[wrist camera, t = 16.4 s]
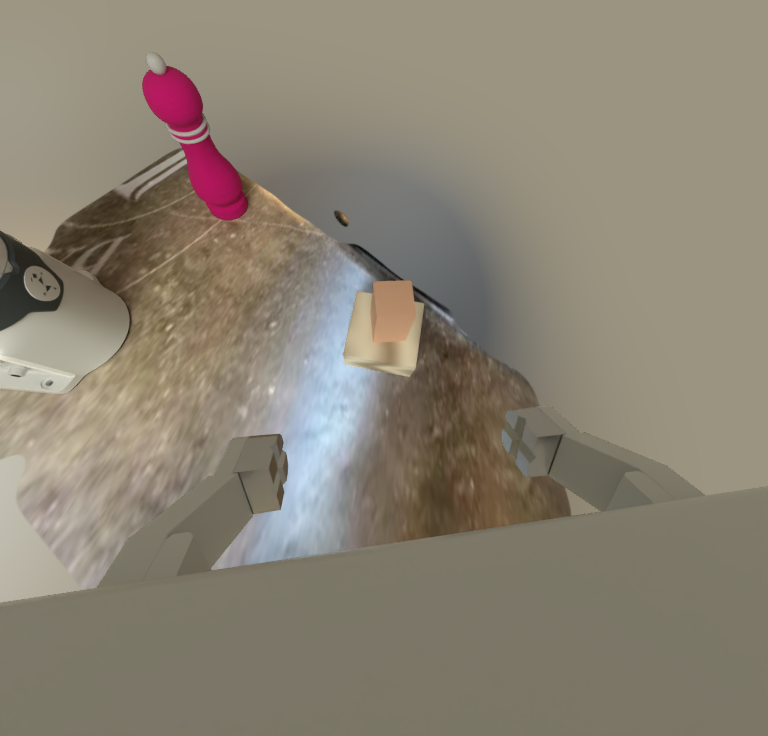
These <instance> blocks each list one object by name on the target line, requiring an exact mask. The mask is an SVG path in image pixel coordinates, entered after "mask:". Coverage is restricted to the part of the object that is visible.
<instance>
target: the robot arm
mask: <svg viewBox="0 0 768 736" xmlns="http://www.w3.org/2000/svg"><path fill="white" fill-rule="evenodd" d="M129 320H130V319H129V312H128V309H127V307H126V305H125V303H124V301H123V300H122V299H121V298H120V297H119V296H118V295H117V294H115V293H114V292H112V291H110V290H108V289H107V288H105V287H103V286H102V285H101V284H100V282H99V281H98V279H97V278H96V277H95V276H94V275H93V274H92V273H90V272H88V271H86V270H77V271H76V270H75V269H73V268H71V267H69V266H67V265H66V264H64V263H62V262H60V261H58V260H57V259H55V258H53V257H51V256H49V255H47V254H46V253H44V252H42V251H40V250H38V249H35V248H32V247H26V246H25V245H23V244H22V242H20V241H18V240H17V239H15V238H14V237H12V236H10V235H8V234H5V233H3V232H1V231H0V389H7V390H18V391H28V392H39V393H50V394H65V393H67V392H69V391H70V390H72V389H73V388H74V387H75V386H76V385H77V384H78V383H79V381H80V380H81V379H82V378H83V377H84V376H85V375H86V374H88V373H89V372H91V371H92V370H94V369H96V368H98V367H99V366H101V365H102V364H104V363H105V362H106V361H108V360H109V359H110V358H111V357H112V356H113V355H114V354H115V353H116V352H117V351H118V349H119V348H120V347H121V345H122V343H123V342H124V340H125V338H126V335H127V333H128V329H129ZM52 383H53V384H52ZM51 384H52V385H51ZM505 419H506V421H507V422H508V424H507V425H506V426H505V427H504V428H503V432H502V440H503V444H504V447H505V449H506V450H507V452H508V453H509V454H510V455H512V456H514V457H516V462H515V463H516V465H517V466H518V467H519V469H520V470H521V471H522V473H523V474H524V476H525V477H533V476H543V475H549V477H551V478H552V479H554V480H555V481H557V482H558V483H560V484H561V485H563V486H564V487H565V488H567V489H568V490H570V491H571V492H573V493H574V494H576V495H577V496H579V497H580V498H582V499H583V500H585V501H586V502H588V503H589V504H591V505H592V506H594V507H595V508H597V509H598V510H599V511H601V512H595V513H588V514H581V515H575V516H568V517H561V518H555V519H548V520H542V521H535V522H529V523H522V524H515V525H509V526H502V527H496V528H489V529H483V530H476V531H469V532H463V533H456V534H450V535H443V536H436V537H430V538H423V539H416V540H410V541H403V542H397V543H390V544H383V545H377V546H370V547H364V548H357V549H350V550H344V551H337V552H331V553H324V554H317V555H311V556H304V557H298V558H291V559H284V560H278V561H271V562H265V563H258V564H252V565H245V566H238V567H232V568H225V569H219V570H211V567H212V566H213V565H214V564H215V562H216V561H217V560H218V559H219V557H220V556H221V555H222V554H223V552H224V551H225V550H226V549H227V547H228V546H229V545H230V544H231V542H232V541H233V540H234V539H235V538H236V536H237V535H238V534H239V533H240V531H241V530H242V529H243V528H244V526H245V525H246V524H247V523H248V521H249V520H250V519H251V518H252V516H253V514H258V513H264V512H270V511H276V510H281V505H282V500H283V495H284V489H283V484H284V483H285V482H286V480H287V474H288V461H287V455H286V452H284V451H283V450H282V448H283V439H282V435H280V434H271V435H259V436H249V437H238V438H233V439H232V440H231V441H230V443H229V445H228V447H227V449H226V451H225V453H224V455H223V457H222V459H221V461H220V463H219V466H218V468H217V470H216V472H215V474H214V476H208V477H207V478H206V479H205V480H203V481H202V482H201V483H199V484H198V485H197V486H196V487H194V488H193V489H192V490H190V491H189V492H188V493H187V494H185V495H184V496H183V497H181V498H180V499H179V500H178V501H176V502H175V503H174V504H172V505H171V506H170V507H169V508H167V509H166V510H165V511H163V512H162V513H161V514H160V515H158V516H157V517H156V518H154V519H153V520H152V521H151V522H149V523H148V524H147V525H145V526H144V527H143V528H142V529H140V530H139V531H138V532H136V533H135V534H134V535H133V536H131V537H130V538H129V539H128V540H127V542H126V543H125V545H124V546H123V548H122V549H121V551H120V553H119V554H118V556H117V557H116V559H115V560H114V562H113V563H112V565H111V566H110V568H109V569H108V571H107V573H106V574H105V576H104V577H103V579H102V580H101V582H100V583H99V585H98V586H97V588H93V589H87V590H80V591H74V592H68V593H61V594H54V595H48V596H42V597H34V598H28V599H21V600H15V601H8V602H3V603H0V736H768V486H766V487H760V488H753V489H747V490H741V491H734V492H727V493H721V494H714V495H707V496H706V495H704V494H703V493H702V492H701V491H699V490H698V489H697V488H695V487H694V486H693V485H691V484H690V483H689V482H688V481H686V480H685V479H684V478H682V477H681V476H680V475H678V474H677V473H676V472H674V471H673V470H672V469H671V468H669V467H668V466H666V465H664V464H661V463H659V462H656V461H654V460H652V459H649V458H646V457H644V456H642V455H639V454H637V453H634V452H632V451H630V450H627V449H625V448H622V447H620V446H617V445H615V444H612V443H610V442H607V441H605V440H603V439H600V438H598V437H595V436H592V435H590V434H588V433H586V432H583V433H581V432H579V430H577V429H576V428H575V427H574V426H573V425H572V424H570V422H568V421H567V420H566V419H565V418H564V417H563V416H562V415H561V414H560V413H558V412H557V411H556V410H555V409H554V408H553V407H551V406H549V405H545V406H537V407H532V408H523V409H513V410H509V411H508V412H507V414H506V418H505Z"/></svg>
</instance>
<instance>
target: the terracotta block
mask: <svg viewBox="0 0 768 736" xmlns="http://www.w3.org/2000/svg"><path fill="white" fill-rule="evenodd" d="M370 315H371V326H372V337H373V343H379V342H396V341H405V340H406V338H407V335H408V333H409V331H410V328H411V326H412V324H413V321H414V319H415V317H416V309H415V302H414V295H413V288H412V281H411V280H403V281H375V282H373V291H372V301H371V312H370Z"/></svg>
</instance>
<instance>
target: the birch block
mask: <svg viewBox="0 0 768 736" xmlns="http://www.w3.org/2000/svg"><path fill="white" fill-rule="evenodd" d="M371 301H372V293H366V292H361V291H357V293H356V298H355V303H354V307H353V312H352V316H351V321H350V326H349V330H348V335H347V339H346V344H345V348H344V353H343V356H344V363H345V365H348V366H354V367H359V368H365V369H370V370H376V371H382V372H387V373H393V374H398V375H404V376H409V377H410V376H411V374H412V373H413V371H414V369H415V368H416V362H417V355H418V347H419V340H420V332H421V325H422V317H423V310H424V303H419V302H415V309H416V317H415V319H414V321H413V324H412V326H411V328H410V331H409V333H408V335H407V338H406V340H405V341H396V342H379V343H373V337H372V326H371V315H370V312H371Z"/></svg>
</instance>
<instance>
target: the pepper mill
mask: <svg viewBox="0 0 768 736" xmlns="http://www.w3.org/2000/svg"><path fill="white" fill-rule="evenodd" d="M146 61H147V65H148V67H149V68H150V70H149V71H148V72H147V73H146V75H145V76H144V78H143V83H142V87H143V92H144V96H145V99H146V101H147V103H148V105H149V107H150V108H151V110H152V111H153V112H154V114H155V115H156V116H157V117H158V118H159V119H161V120H162V121H164V122H165V126H166V128H167V129H168V130H169V132H170V135H171V136H172V137H173V138H174V139H175V140H176V141H178V142H179V143H180V144H181V146H182V148H183V150H184V153H185V155H186V159H187V163H188V171H189V177H190V181H191V184H192V186H193V189H194V191H195V192H196V194H197V195H198V196H199V198H201V199H202V200H203V201H205V202H206V205H207V206H208V208H209V210H210V211H211V213H212V214H213V215H214V216H215V217H217V218H219V219H222V220H233V219H236V218H239V217H240V216H242V215H243V214H244V213H245V211H246V209H247V200H246V198H245V196H244V193H243V191H242V181H241V179H240V177H239V175H238V173H237V171H236V170H235V168H234V167H233V166H232V165H231V163H230V162H229V161H228V160H227V159H225V158H224V157H223V156H222V155H221V154H220V153H219V152H218V150H217V149H216V147H215V145H214V143H213V142H212V140H211V137H210V135H209V132H210V127H209V124H208V123H207V121H206V118H205V116H204V114H203V113H202V110H203V103H202V99H201V96H200V94H199V92H198V90H197V88H196V87H195V85H194V84H193V82H192V81H191V80H190V79H189V78H188V77H187V76H186V75H185V74H184V73H182V72H181V71H179V70H177V69H175V68H173V67H169V66H166V64H165V62H164V60H163V59H162V58H161V57H160V56H159V55H158V54H157V53H153V52H149V53H148V54H147V56H146Z"/></svg>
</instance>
